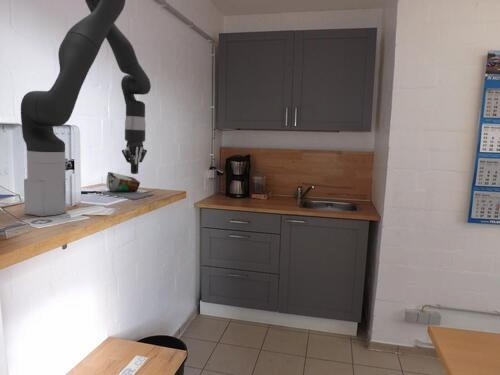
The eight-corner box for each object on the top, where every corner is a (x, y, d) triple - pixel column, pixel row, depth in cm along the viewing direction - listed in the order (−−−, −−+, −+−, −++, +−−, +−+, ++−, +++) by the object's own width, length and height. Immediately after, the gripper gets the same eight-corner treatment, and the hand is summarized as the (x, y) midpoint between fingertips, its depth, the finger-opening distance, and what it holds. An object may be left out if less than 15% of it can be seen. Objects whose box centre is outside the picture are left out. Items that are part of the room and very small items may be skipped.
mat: (134, 199, 127) (134, 198, 127) (93, 194, 132) (93, 193, 132) (153, 195, 138) (153, 194, 138) (114, 190, 143) (114, 189, 143)
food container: (128, 191, 148) (103, 186, 142) (132, 176, 148) (107, 171, 142) (137, 198, 138) (110, 193, 132) (141, 183, 137) (114, 177, 132)
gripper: (132, 128, 130) (132, 176, 132) (153, 130, 142) (152, 173, 145) (115, 127, 132) (115, 174, 135) (137, 129, 145) (136, 171, 147)
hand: (134, 173), depth 140 cm, fingers closed
